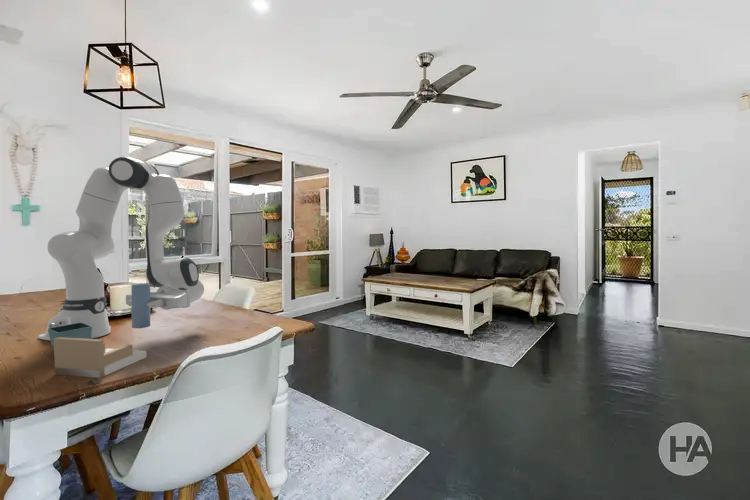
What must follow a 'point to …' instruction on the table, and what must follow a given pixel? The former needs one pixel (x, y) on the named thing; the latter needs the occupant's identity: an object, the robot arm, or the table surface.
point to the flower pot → (70, 331)
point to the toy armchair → (91, 357)
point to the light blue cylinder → (140, 305)
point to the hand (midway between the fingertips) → (138, 304)
